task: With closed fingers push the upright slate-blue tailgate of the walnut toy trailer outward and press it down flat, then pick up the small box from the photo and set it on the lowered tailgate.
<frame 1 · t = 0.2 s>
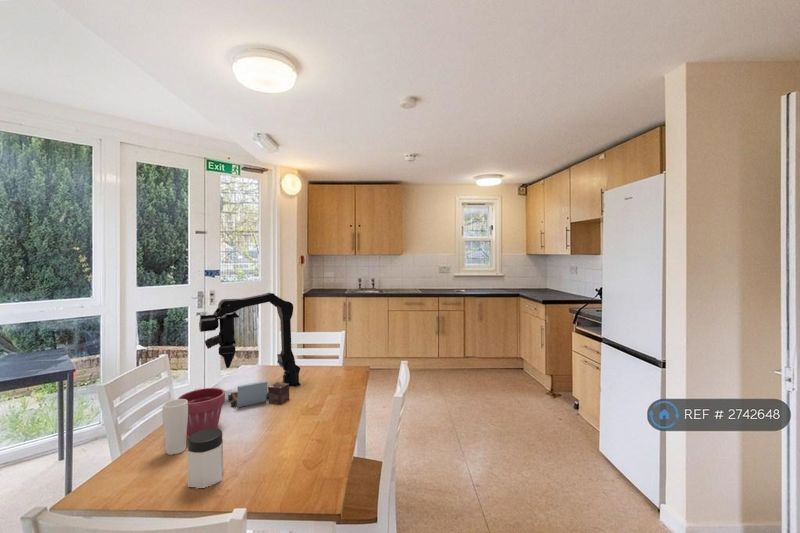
hand: (228, 365, 156), 14 cm above the table, fingers open, 9 cm apart
box: (279, 403, 150), on the table
plant pot: (202, 432, 125), on the table
bed: (248, 400, 152), on the table
drinking glass: (176, 451, 112), on the table
jar: (206, 480, 97), on the table
tailgate: (252, 393, 146), point 5 cm above the table, hinge at 75.0°
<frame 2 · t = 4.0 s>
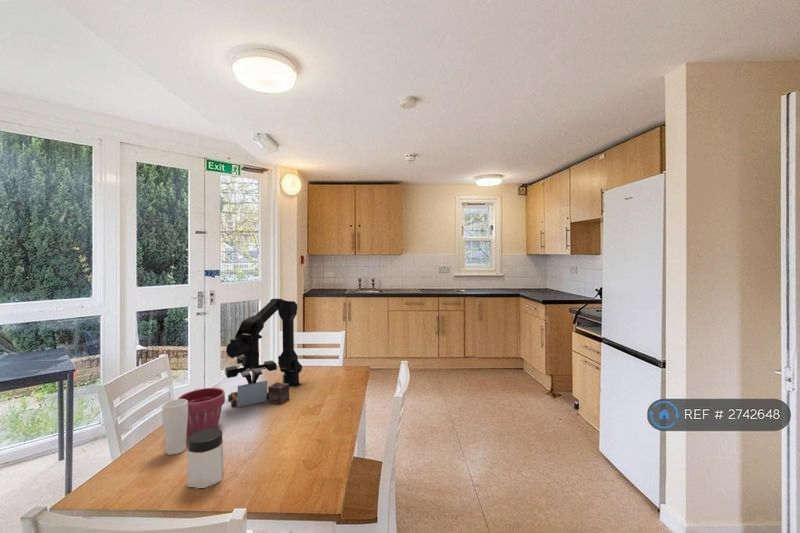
hand: (251, 389, 147), 7 cm above the table, fingers closed, pressing on tailgate
tailgate: (252, 393, 146), point 5 cm above the table, hinge at 74.6°, touching gripper
everything else where it was.
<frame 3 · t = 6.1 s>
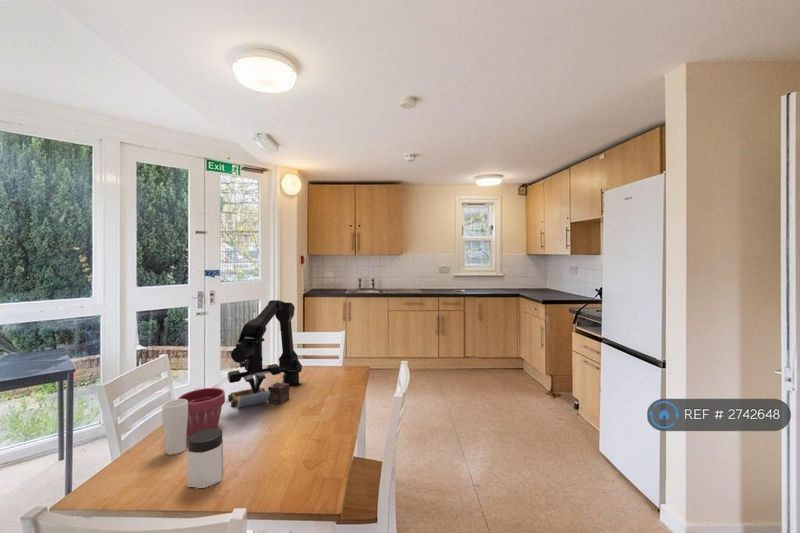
hand: (255, 394, 143), 6 cm above the table, fingers closed, pressing on tailgate
tailgate: (253, 399, 144), point 4 cm above the table, hinge at 40.8°, touching gripper
everything else where it was.
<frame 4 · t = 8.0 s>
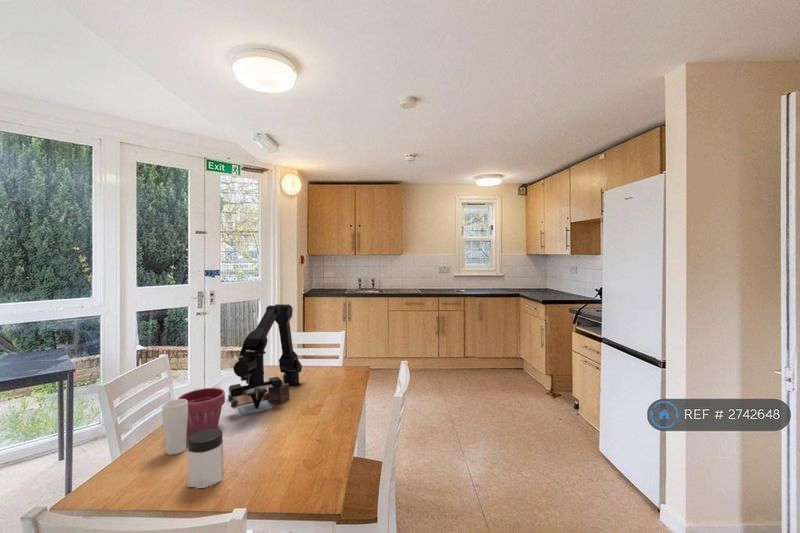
hand: (256, 408, 141), 1 cm above the table, fingers closed, pressing on tailgate
tailgate: (254, 407, 143), point 1 cm above the table, hinge at 3.4°, touching gripper
everything else where it was.
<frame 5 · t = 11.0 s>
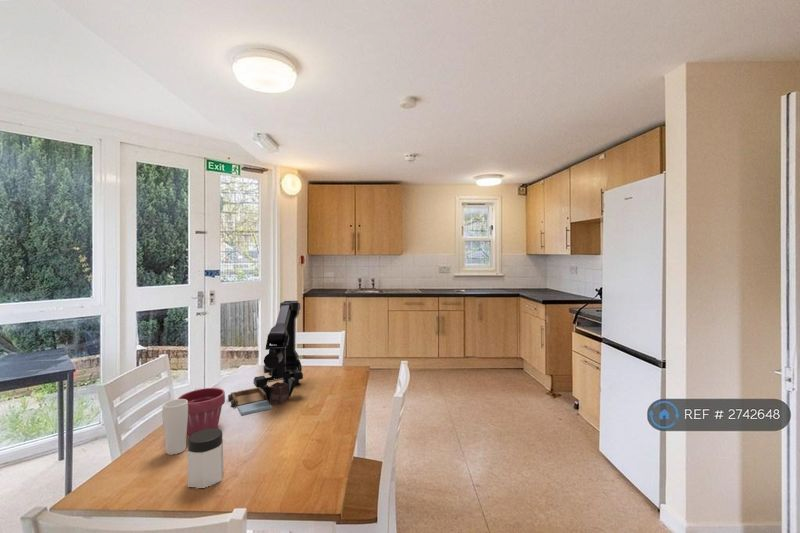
hand: (279, 398, 150), 2 cm above the table, fingers closed on box, 8 cm apart
box: (279, 403, 150), on the table, touching gripper
tailgate: (254, 407, 143), point 1 cm above the table, hinge at 3.4°
everything else where it was.
when the fingers open (4 cm above the table, at t = 15.0 s): box drops 1 cm, resting on tailgate.
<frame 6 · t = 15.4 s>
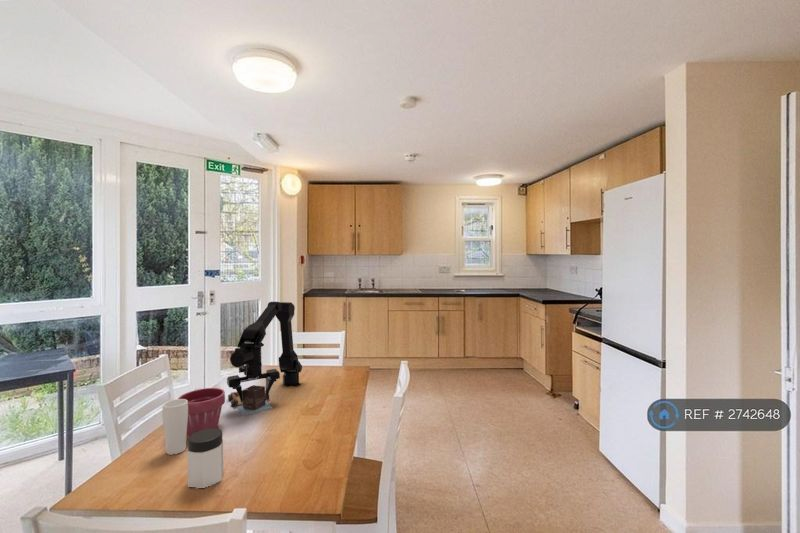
hand: (254, 399, 143), 4 cm above the table, fingers open, 9 cm apart
box: (254, 407, 143), point 1 cm above the table, touching tailgate
tailgate: (254, 408, 143), point 1 cm above the table, hinge at 0.4°, touching box
everything else where it was.
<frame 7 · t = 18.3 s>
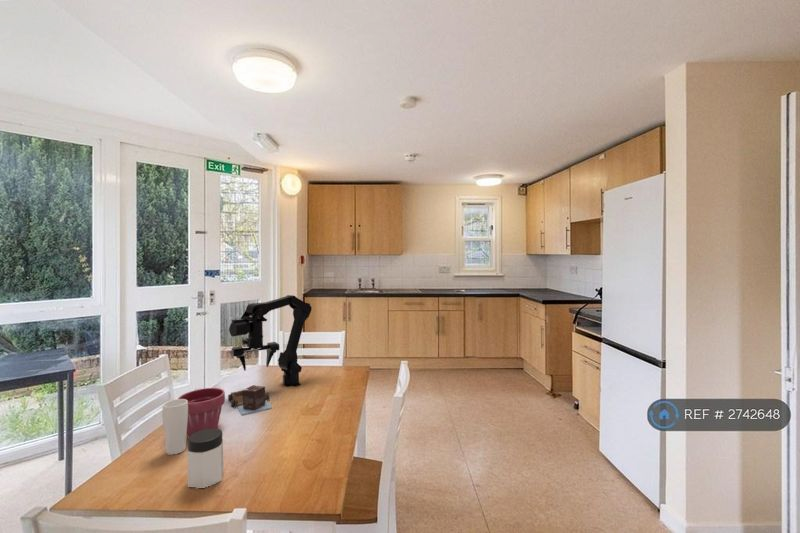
hand: (256, 368, 157), 12 cm above the table, fingers open, 9 cm apart
nothing on the table moved.
at the end: tailgate at +0° (first picture: +75°); box inside the target area (0.6 cm from its centre), point 0.9 cm above the table; box tilted 0° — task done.
